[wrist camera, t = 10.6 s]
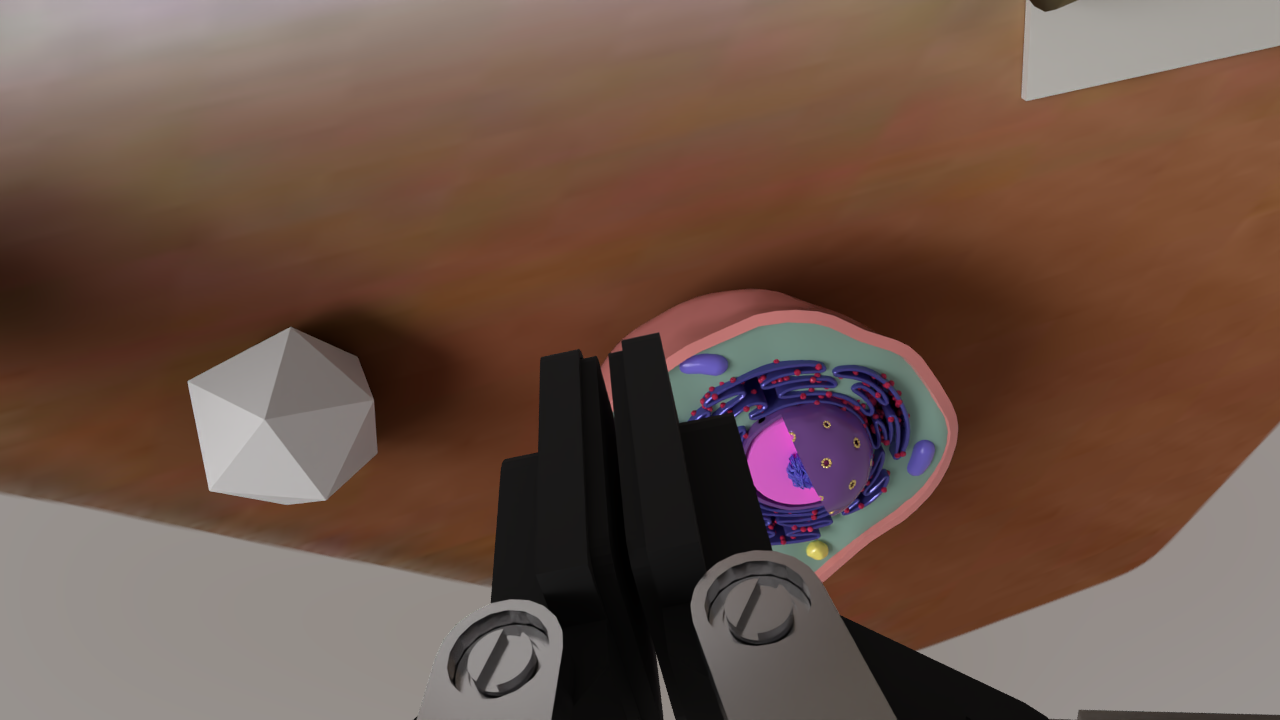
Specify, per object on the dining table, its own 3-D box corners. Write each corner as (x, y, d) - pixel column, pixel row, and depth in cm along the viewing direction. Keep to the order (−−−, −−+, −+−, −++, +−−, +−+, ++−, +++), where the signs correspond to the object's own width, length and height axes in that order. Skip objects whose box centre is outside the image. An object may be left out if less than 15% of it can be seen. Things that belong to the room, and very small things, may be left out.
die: (283, 262, 43) (114, 391, 37) (425, 353, 41) (271, 502, 36) (301, 359, 49) (158, 481, 44) (423, 441, 48) (293, 578, 42)
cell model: (479, 347, 46) (460, 495, 36) (838, 170, 42) (920, 284, 32) (628, 546, 54) (644, 706, 45) (935, 415, 51) (1022, 560, 41)
